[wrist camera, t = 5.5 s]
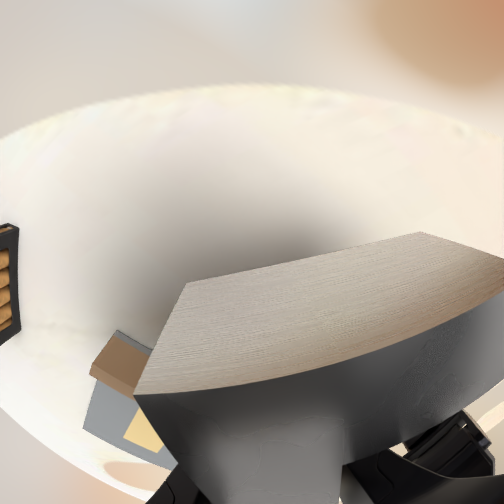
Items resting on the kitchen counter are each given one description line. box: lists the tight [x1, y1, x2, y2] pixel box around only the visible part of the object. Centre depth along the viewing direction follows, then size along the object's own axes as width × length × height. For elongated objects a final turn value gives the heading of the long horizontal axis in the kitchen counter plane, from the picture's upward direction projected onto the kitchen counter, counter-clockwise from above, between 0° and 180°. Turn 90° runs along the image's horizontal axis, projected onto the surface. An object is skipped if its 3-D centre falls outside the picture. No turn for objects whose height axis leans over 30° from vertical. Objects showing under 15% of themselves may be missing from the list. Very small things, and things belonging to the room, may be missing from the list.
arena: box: [83, 330, 178, 471], centre depth 19 cm, size 18×16×5 cm
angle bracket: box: [133, 232, 504, 504], centre depth 7 cm, size 7×8×5 cm
